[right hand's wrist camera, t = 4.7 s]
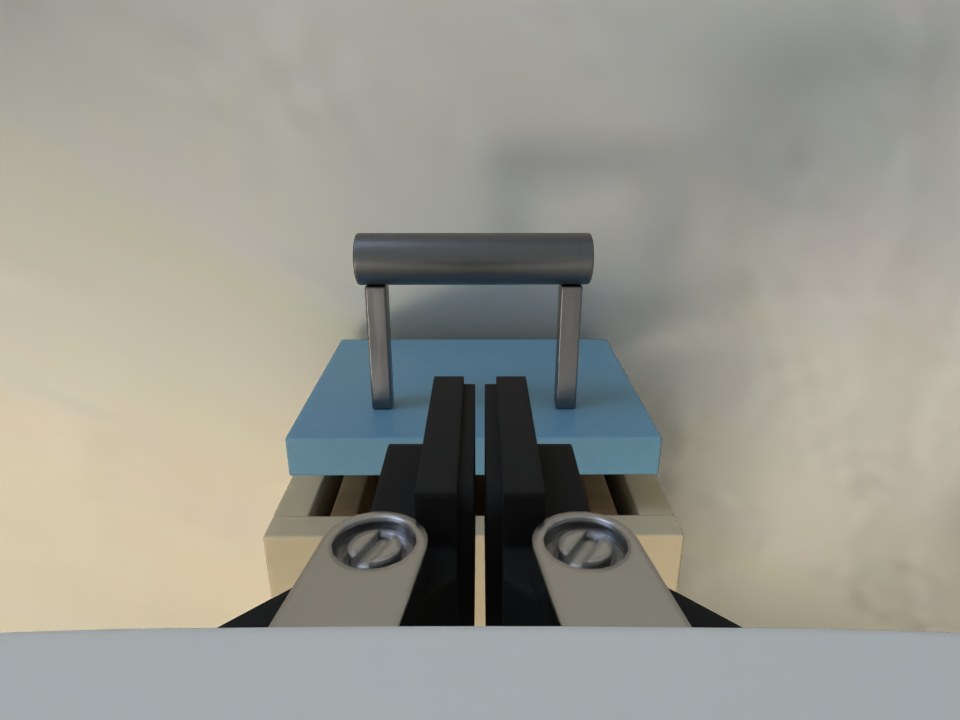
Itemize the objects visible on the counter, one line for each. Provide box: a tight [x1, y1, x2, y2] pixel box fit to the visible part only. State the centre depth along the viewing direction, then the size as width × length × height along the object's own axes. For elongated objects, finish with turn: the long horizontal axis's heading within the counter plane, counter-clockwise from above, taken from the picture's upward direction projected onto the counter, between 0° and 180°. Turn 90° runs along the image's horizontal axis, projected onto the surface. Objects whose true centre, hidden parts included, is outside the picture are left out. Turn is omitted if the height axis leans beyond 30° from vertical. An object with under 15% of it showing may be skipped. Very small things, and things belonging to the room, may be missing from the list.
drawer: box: [286, 233, 662, 516], centre depth 25 cm, size 25×10×8 cm, turn 0°
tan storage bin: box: [263, 474, 684, 626], centre depth 27 cm, size 21×12×10 cm, turn 0°
